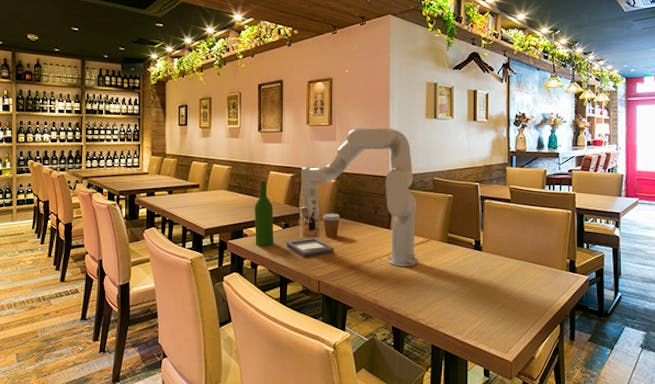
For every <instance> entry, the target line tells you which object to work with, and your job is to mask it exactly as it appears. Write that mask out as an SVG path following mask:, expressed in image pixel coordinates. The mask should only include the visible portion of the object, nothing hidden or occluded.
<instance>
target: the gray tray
mask: <svg viewBox="0 0 655 384" xmlns="http://www.w3.org/2000/svg"><path fill="white" fill-rule="evenodd" d="M286 248H288V249H290V250H291V251H293V252H294V253H295V254H297V255H298V256H300V257H302V258H304V259H305V258H311V257H315V256H316V257H317V255H318V256H323V255H329V254H334V253H335V247H333V246H331V245H329V244H328V243H325V242H324V241H321V240H319V238H305V239H301V240H293V241H287V242H286Z"/></svg>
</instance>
